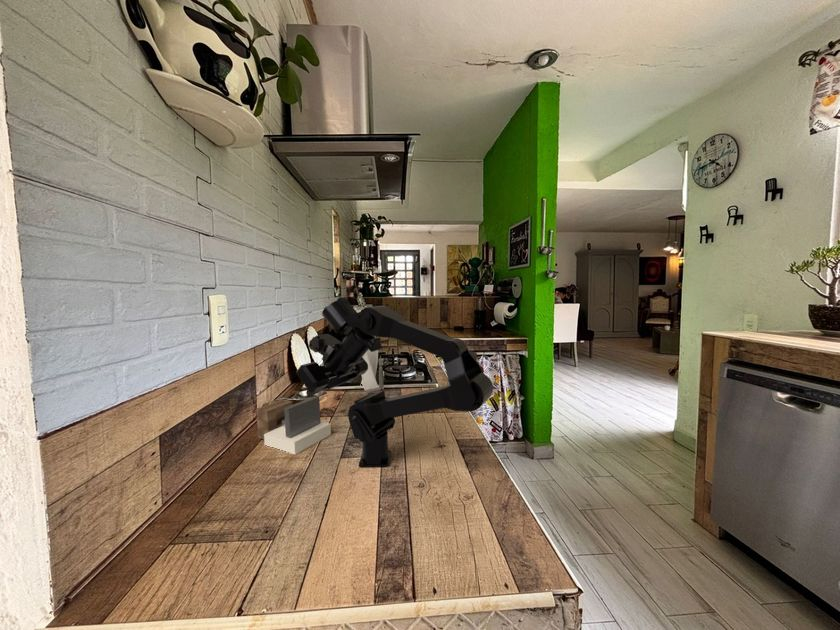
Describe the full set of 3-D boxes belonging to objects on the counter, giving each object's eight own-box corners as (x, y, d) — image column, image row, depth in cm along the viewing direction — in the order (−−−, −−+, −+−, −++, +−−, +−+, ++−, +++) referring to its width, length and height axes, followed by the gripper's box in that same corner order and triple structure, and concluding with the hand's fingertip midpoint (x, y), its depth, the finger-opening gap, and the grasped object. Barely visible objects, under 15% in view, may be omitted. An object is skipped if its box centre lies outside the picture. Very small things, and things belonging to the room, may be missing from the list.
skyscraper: (364, 393, 126) (361, 317, 124) (355, 388, 133) (352, 315, 131) (384, 389, 131) (382, 315, 129) (375, 384, 138) (373, 314, 135)
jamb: (293, 430, 94) (292, 401, 94) (268, 441, 87) (267, 411, 87) (283, 427, 96) (281, 399, 96) (258, 438, 89) (256, 408, 89)
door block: (330, 434, 91) (330, 423, 91) (295, 454, 80) (294, 442, 80) (302, 427, 96) (301, 417, 96) (264, 445, 85) (264, 434, 85)
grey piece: (320, 422, 91) (319, 396, 90) (290, 437, 82) (288, 409, 82) (299, 418, 94) (298, 393, 94) (268, 432, 86) (267, 404, 85)
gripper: (357, 319, 88) (326, 358, 94) (300, 327, 72) (267, 374, 78) (383, 352, 85) (350, 390, 91) (331, 368, 68) (294, 414, 74)
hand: (317, 391), depth 84 cm, fingers open, 6 cm apart
